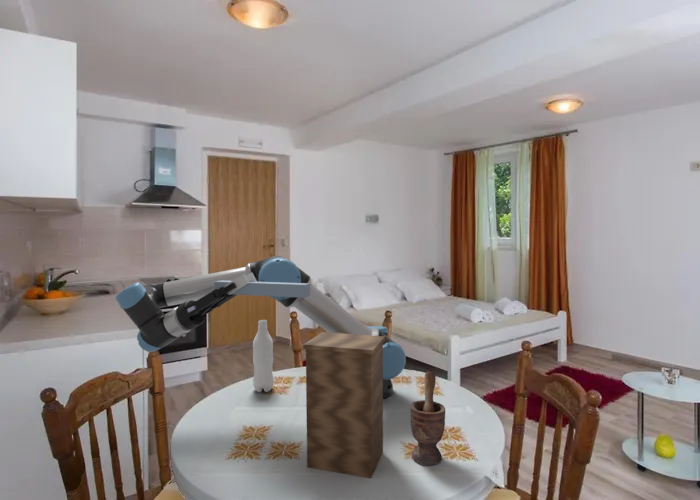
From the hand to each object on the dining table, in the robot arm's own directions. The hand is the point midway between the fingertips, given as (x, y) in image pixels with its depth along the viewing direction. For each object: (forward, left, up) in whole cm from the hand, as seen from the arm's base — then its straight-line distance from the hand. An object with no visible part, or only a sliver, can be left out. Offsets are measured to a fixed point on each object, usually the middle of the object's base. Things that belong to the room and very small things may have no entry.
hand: (250, 277), depth 112 cm
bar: (-3, +2, -4) cm, 5 cm away
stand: (-21, +15, -45) cm, 52 cm away
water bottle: (-7, -39, -45) cm, 60 cm away
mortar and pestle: (-41, +19, -45) cm, 64 cm away
